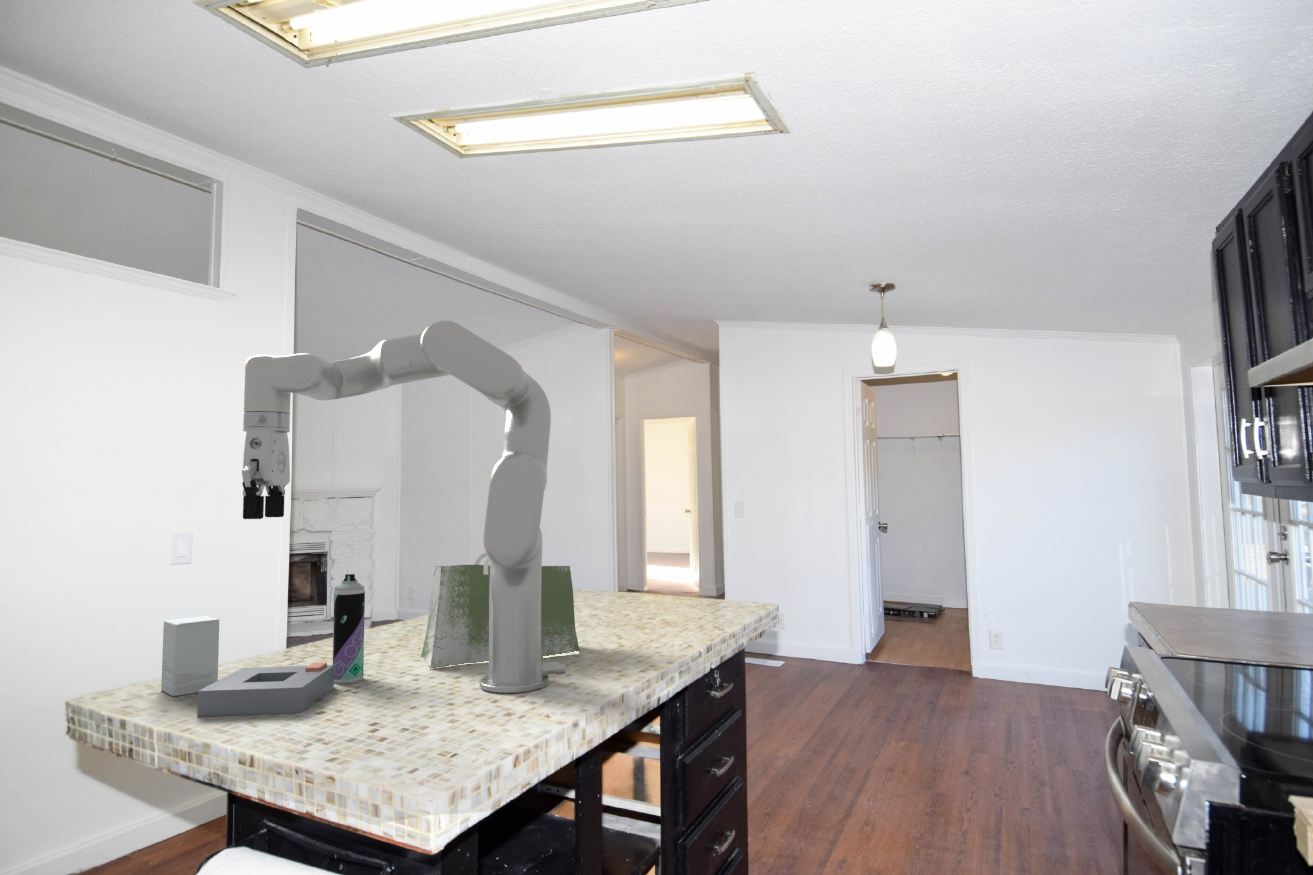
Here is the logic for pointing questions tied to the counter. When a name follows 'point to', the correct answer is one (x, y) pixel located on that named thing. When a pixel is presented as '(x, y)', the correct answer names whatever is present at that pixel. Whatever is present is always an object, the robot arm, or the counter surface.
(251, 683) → the socket plate
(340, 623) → the spray can
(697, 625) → the counter surface
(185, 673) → the supplement box
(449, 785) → the counter surface
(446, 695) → the counter surface
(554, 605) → the grocery bag
